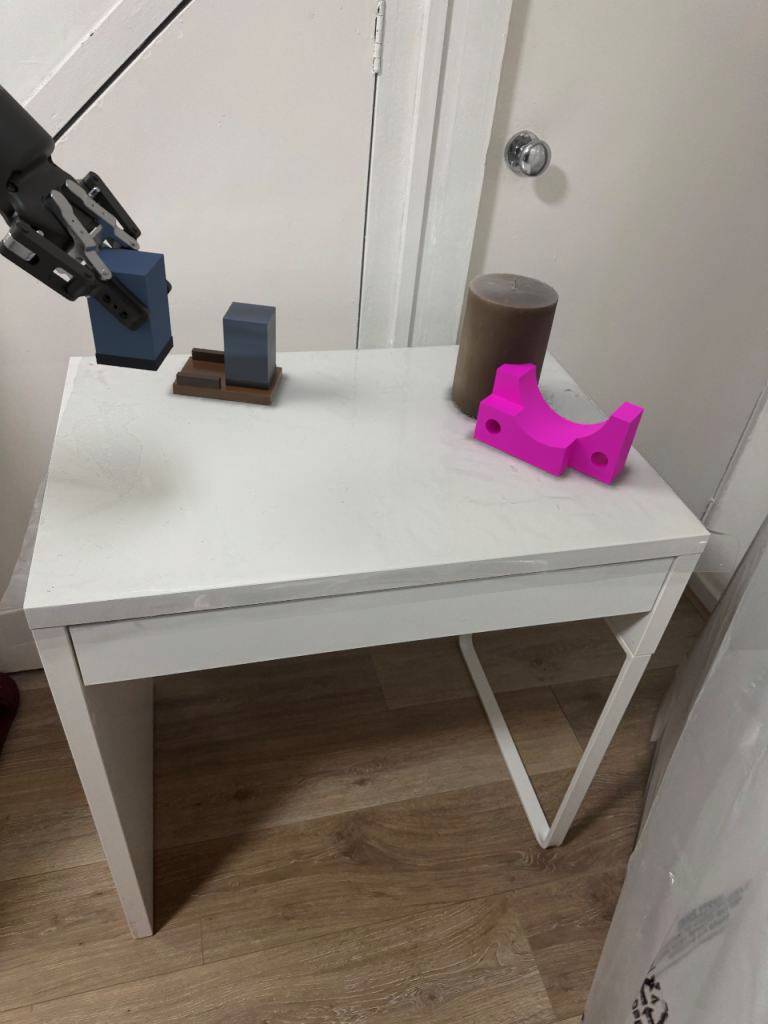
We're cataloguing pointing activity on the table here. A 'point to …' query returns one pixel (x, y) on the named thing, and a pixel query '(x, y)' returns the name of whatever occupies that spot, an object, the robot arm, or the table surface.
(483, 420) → the magenta pipe saddle clamp
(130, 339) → the blue rectangular block
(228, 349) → the stand
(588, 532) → the table surface
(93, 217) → the robot arm
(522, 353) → the pillar candle
